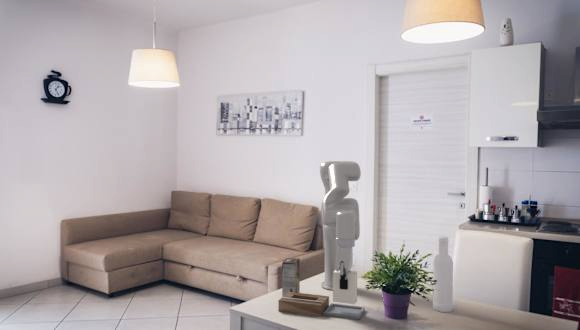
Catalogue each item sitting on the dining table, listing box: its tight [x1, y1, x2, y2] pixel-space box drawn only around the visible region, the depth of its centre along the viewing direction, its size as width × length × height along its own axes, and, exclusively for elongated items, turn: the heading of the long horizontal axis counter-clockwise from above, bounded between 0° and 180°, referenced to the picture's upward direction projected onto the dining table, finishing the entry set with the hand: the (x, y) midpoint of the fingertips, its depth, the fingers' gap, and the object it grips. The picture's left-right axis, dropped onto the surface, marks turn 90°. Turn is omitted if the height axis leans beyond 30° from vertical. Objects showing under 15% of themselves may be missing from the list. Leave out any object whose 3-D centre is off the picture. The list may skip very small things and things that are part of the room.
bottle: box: [432, 235, 454, 313], centre depth 197 cm, size 8×8×30 cm
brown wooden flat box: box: [278, 292, 330, 317], centre depth 198 cm, size 12×18×5 cm, turn 70°
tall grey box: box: [281, 257, 301, 298], centre depth 215 cm, size 9×6×16 cm
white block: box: [332, 270, 358, 305], centre depth 192 cm, size 4×9×12 cm, turn 70°
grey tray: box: [323, 302, 366, 321], centre depth 193 cm, size 11×14×2 cm
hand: (345, 287), depth 192 cm, fingers closed on white block, 4 cm apart
